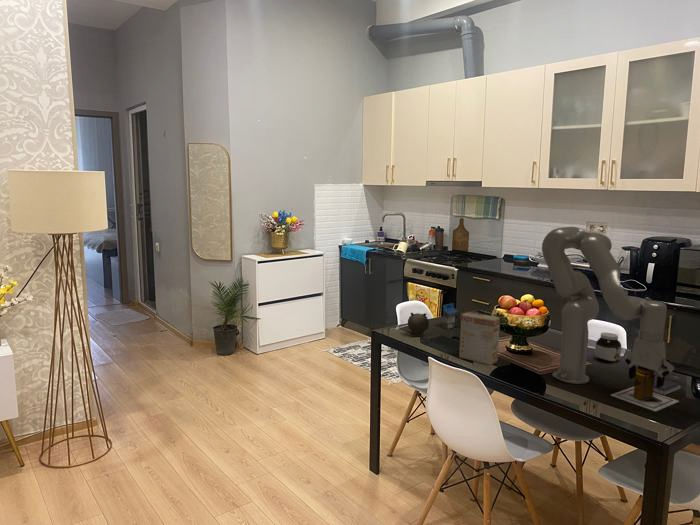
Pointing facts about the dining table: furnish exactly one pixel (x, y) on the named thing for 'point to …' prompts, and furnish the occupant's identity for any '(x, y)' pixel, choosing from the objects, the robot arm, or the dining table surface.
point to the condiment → (644, 385)
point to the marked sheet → (649, 405)
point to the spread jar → (608, 348)
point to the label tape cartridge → (450, 316)
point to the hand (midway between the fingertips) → (645, 382)
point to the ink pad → (666, 387)
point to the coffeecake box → (479, 337)
